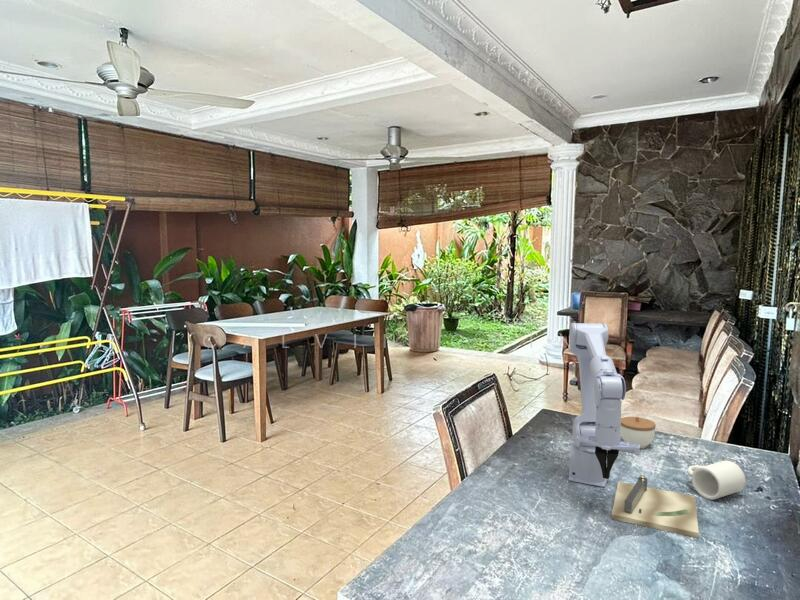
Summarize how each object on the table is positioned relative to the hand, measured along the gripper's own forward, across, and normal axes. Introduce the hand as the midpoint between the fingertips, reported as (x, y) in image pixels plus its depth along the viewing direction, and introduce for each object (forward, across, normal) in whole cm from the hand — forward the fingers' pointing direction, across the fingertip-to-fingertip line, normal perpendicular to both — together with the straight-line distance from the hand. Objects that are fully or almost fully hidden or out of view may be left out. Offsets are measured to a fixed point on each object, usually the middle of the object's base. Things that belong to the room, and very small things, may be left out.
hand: (606, 477), depth 128 cm
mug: (+8, +24, +21) cm, 33 cm away
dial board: (+8, +11, +4) cm, 14 cm away
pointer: (+6, +7, +4) cm, 10 cm away
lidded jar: (+8, +5, +47) cm, 48 cm away
